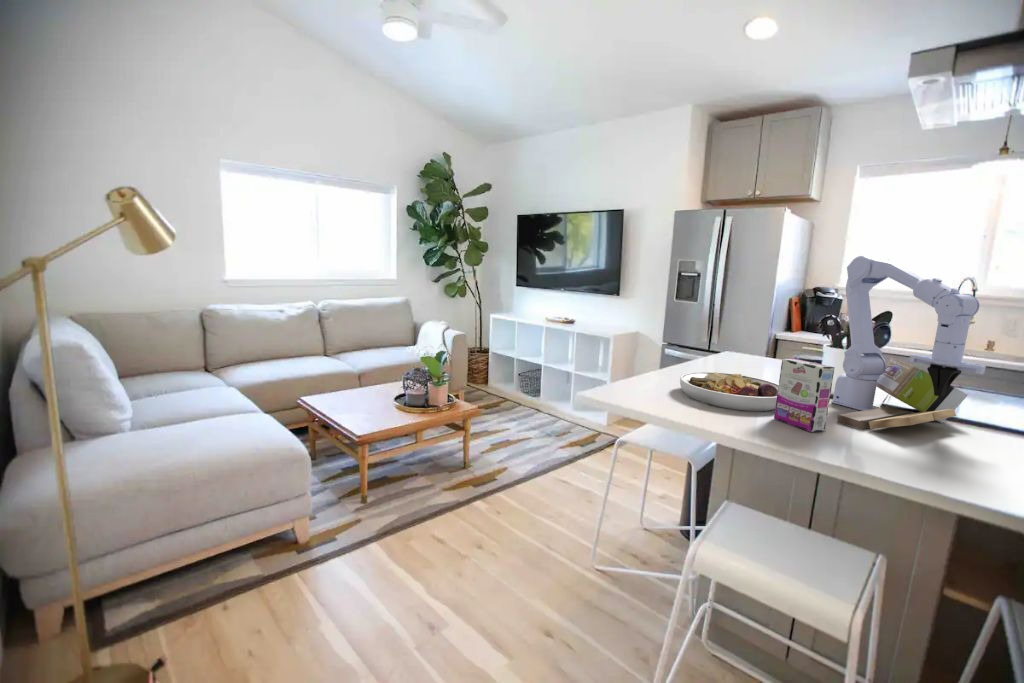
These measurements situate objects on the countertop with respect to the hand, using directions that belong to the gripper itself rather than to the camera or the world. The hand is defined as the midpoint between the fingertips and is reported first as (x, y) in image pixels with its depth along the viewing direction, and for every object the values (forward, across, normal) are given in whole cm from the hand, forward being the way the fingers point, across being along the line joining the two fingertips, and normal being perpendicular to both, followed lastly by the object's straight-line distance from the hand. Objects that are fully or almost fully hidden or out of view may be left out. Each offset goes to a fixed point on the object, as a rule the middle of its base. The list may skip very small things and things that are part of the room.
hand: (939, 395), depth 121 cm
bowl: (+10, -39, -27) cm, 49 cm away
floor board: (+9, -10, -6) cm, 15 cm away
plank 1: (+7, -2, -11) cm, 13 cm away
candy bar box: (+10, -15, -31) cm, 36 cm away
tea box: (+5, -6, +18) cm, 19 cm away
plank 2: (+7, -2, 0) cm, 7 cm away
